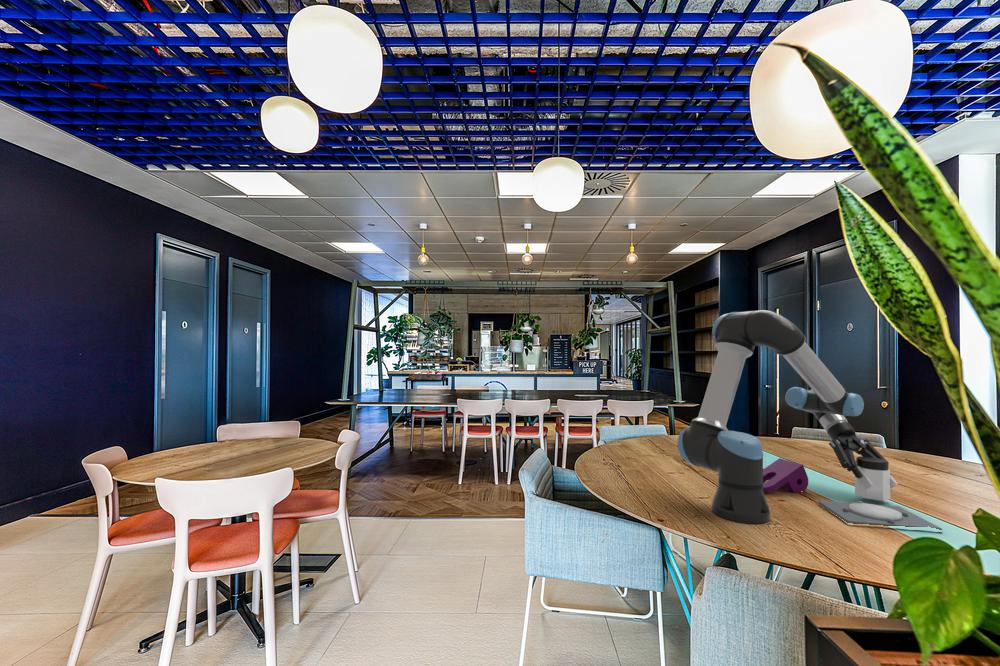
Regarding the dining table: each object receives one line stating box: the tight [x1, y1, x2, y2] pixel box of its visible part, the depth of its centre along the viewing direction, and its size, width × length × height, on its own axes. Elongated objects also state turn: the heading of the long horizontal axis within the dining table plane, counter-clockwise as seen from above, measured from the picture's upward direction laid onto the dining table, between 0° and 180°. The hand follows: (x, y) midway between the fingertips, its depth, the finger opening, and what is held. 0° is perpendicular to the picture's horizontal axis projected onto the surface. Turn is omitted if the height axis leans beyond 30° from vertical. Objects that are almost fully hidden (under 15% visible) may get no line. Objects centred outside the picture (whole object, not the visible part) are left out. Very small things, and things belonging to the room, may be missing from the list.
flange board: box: [817, 500, 943, 531], centre depth 133 cm, size 22×18×2 cm
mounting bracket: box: [763, 458, 809, 494], centre depth 160 cm, size 9×8×18 cm
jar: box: [854, 456, 891, 502], centre depth 148 cm, size 9×8×12 cm
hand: (881, 486), depth 145 cm, fingers closed on jar, 8 cm apart
